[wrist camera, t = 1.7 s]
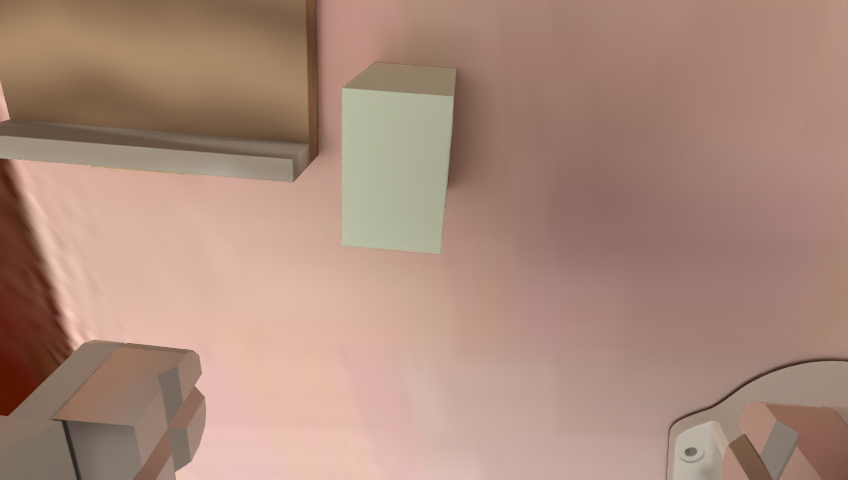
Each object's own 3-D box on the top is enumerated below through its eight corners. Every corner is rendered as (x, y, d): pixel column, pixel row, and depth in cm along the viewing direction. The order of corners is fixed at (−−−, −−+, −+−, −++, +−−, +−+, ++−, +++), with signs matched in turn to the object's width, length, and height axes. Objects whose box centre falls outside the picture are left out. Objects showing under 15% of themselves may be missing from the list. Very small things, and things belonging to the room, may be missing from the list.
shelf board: (318, 159, 33) (293, 188, 28) (41, 137, 33) (-29, 161, 29) (312, -175, 26) (278, -212, 21) (-35, -195, 27) (-144, -236, 22)
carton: (457, 68, 30) (455, 96, 22) (447, 189, 33) (441, 254, 25) (374, 62, 30) (340, 88, 22) (371, 182, 33) (340, 245, 25)
